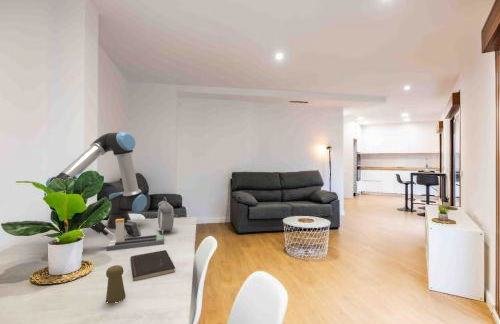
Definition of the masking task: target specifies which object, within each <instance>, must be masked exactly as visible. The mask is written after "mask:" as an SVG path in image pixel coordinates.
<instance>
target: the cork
mask: <svg viewBox="0 0 500 324" xmlns="http://www.w3.org/2000/svg"><path fill="white" fill-rule="evenodd" d="M123 274H124V267H123V266H122V265H119V264H118V265H117V264H116V265H112V266H109V267H108V268H107V269H106V272H105V276H106V278H107V287H106V296H105V303H106V302H108V303H115V302H118V303H120V302H119V301H121V300H122V301H124V300H125V299H126V291H125V286H124V285H125V284H124V279H123ZM123 299H124V300H123ZM122 301H121V302H122ZM108 303H107V304H108ZM115 304H116V303H115Z"/></svg>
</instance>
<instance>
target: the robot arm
mask: <svg viewBox="0 0 500 324" xmlns="http://www.w3.org/2000/svg"><path fill="white" fill-rule="evenodd" d="M89 145H90V147H89V148H88V149H87V150H85V151H84V152H83V153H81V154H80V155H79V156H78V157H77V158H76V159H74V161H72V162H71V163H70V164H69V165H68V166H67V167H66V168H65V169H63V170H62V171H61V172H60V173H58V175H56V176H51V177H49V178H48V179H47V180H46V182H45V186H48V184H49V183H50V182H51V181H52V180H53V179H56V178H61V179H63V180H66V179H68V178H73V179H77V178H78V177H79V176H80V175H81V174H82V173H83V172H84V171H85V170H86V169H88V167H89V166H90V165H92V164H93V163H94V162H95V161H97V159H98V158H99V157H100V156H104V155H106V153H108V152H112V153H113V156H114V157H116V159H117V165H118V168H119V173H120V177H121V182H122V186H123V187H122V188H123V191H121V192H120V191H119V192H114V193H110V194H109V195H108V201H109V200H110V201H111V202H112V209H111V212H110V211H109V216H108V219H107V223H106V225H105V224H104V223H103V222H102V221H100V222H99V223H98V224H96V225H95V226H92V227H89V228H90V229H91V230H93V231H95V232H97V234H102V235H103V236H105V237H106V238H107V239H109V240H110V241H112V240H113V239H114V237H116V234H115V233H113V232H112V231H110V230H109V229H116V223H115V220H116V219H123V218H124V224H125V223H126V222H127V220H131V217H130V214H129V212H131V213H132V212H133V213H137V212H138V213H140V212H142V211H143V210H144V209H145V208H146V206H147V203H148V198H147V196H146V195H145V194H143V193H142V190H141V189H140V188H139V186H138V185H139V184H138V181H137V176H136V171H135V167H134V161H133V157H132V154H133V153H134V149H135V146H136V140H135V137H134V136H133V135H132V134H131V133H129V132H124V131H120V132H119V131H118V132H108V133H105V134H102V135H101V136H99V137H97V138H96V139H95V140H94V141H93V142H92V143H90V144H89ZM43 195H44V197H45V196H46V193H45V192H44V193H43ZM131 221H132V220H131ZM108 228H109V229H108ZM124 228H125V226H124Z"/></svg>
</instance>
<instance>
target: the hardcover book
mask: <svg viewBox="0 0 500 324" xmlns="http://www.w3.org/2000/svg"><path fill="white" fill-rule="evenodd" d="M130 265H131V266H130V267H131V272H132V273H131V274H132V281H133V282H134V281H139V280H143V279H148V278H152V277H157V276H161V275H166V274H171V273H175V270H176V267H175V265H174V263H173V260H172V259H171V257H170V255H169V253H168V251H167V250H166V249H164V250H158V251H152V252H147V253H142V254H137V255H131V256H130Z"/></svg>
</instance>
